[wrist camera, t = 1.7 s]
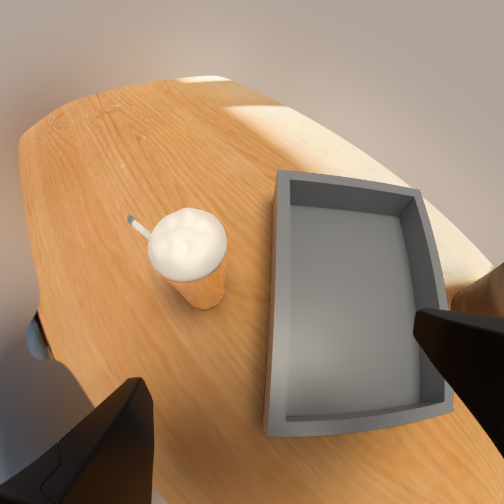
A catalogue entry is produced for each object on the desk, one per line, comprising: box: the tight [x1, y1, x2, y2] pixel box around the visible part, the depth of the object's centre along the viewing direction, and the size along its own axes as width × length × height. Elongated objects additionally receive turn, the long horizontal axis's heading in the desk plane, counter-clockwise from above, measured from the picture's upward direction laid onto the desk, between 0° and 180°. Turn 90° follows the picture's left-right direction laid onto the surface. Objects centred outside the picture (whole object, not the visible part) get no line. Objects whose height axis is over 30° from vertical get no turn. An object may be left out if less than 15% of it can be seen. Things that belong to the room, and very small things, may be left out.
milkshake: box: [126, 208, 227, 310], centre depth 18 cm, size 4×5×10 cm
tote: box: [262, 170, 454, 437], centre depth 20 cm, size 20×14×4 cm
